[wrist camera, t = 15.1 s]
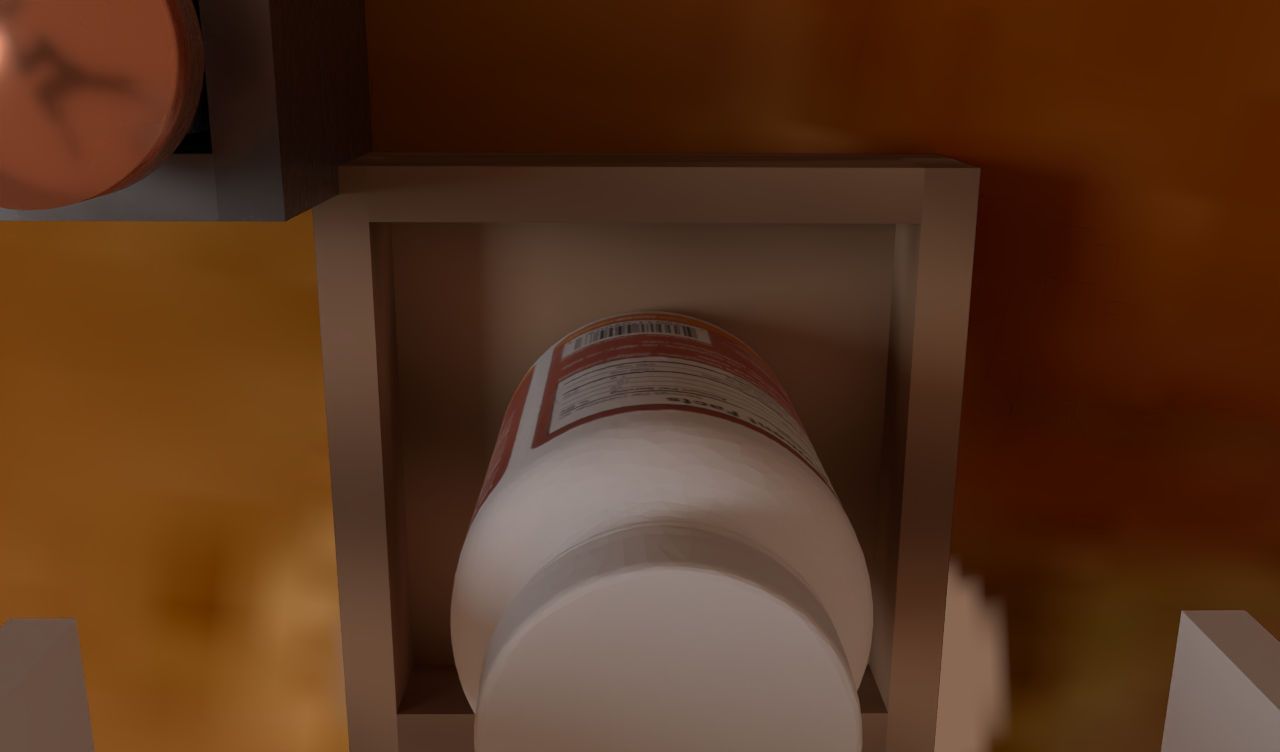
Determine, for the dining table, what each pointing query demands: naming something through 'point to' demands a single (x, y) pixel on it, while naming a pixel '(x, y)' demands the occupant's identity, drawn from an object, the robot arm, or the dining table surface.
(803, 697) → the pill bottle
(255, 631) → the dining table surface
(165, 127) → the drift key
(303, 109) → the socket
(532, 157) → the tray
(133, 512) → the dining table surface
